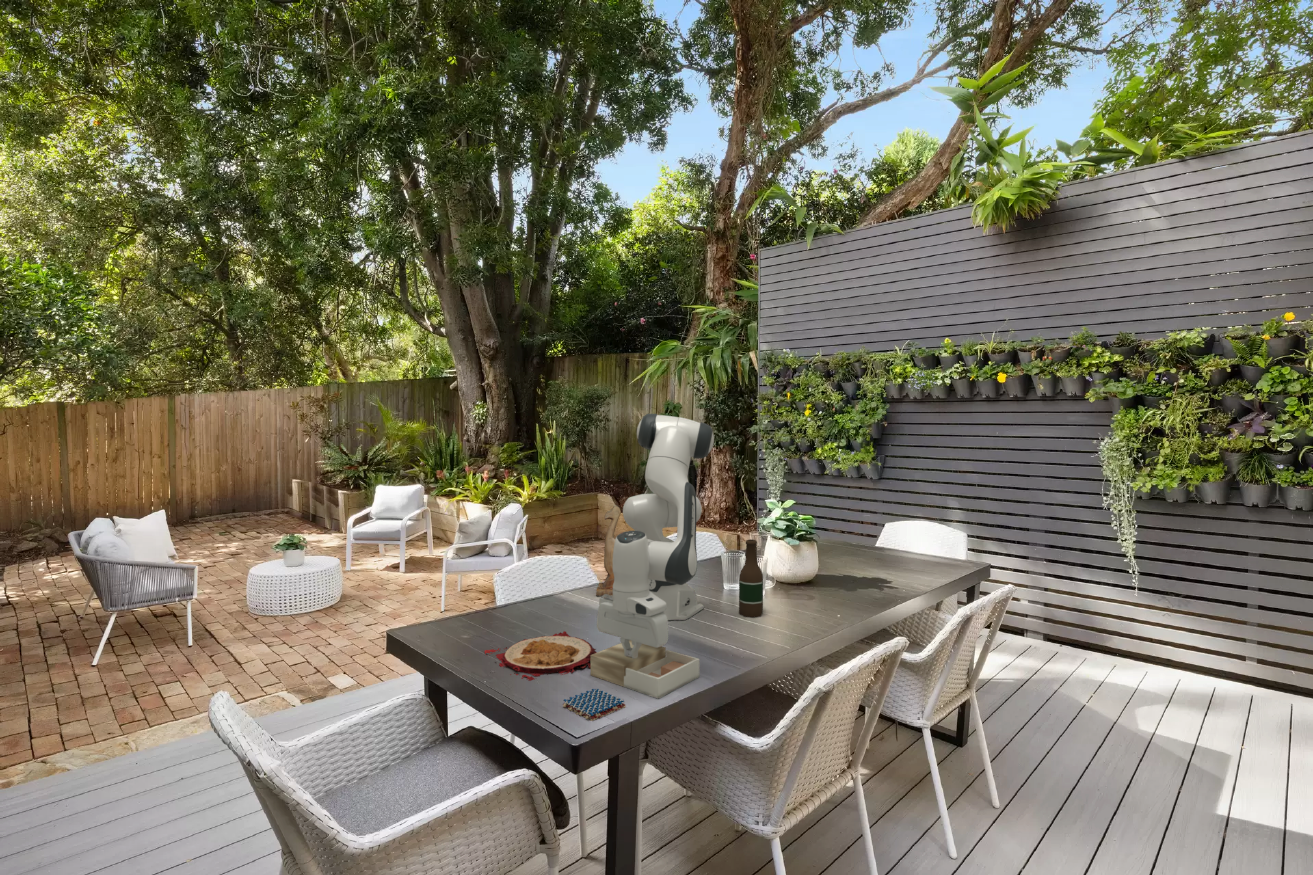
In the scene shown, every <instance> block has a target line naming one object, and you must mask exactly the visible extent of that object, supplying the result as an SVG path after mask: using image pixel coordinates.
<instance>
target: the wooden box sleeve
mask: <svg viewBox="0 0 1313 875" xmlns="http://www.w3.org/2000/svg"><path fill="white" fill-rule="evenodd" d="M629 643H630V646H631V648H633V646H634V645H632V641H631V640H629ZM666 650H667V648H666V646H664V645H663V646H661V647H658V648H656V647H652V646H649V645H645V644H642V645H641V646H640V648H639V650H638V657H637V658H635V659H633V658H630V657H626V656H624V648H623V646H622V644H621V642H620V643H618V644H615V645H613V646H610V647H608V648H606V649H603V650H600V651H596V652H597V653H595V654H592V655H591V661H590V663H591V668H590V676H592V677H594V678H597V679H601V680H602V681H607V682H609V683H612V684H614V685H617V686H620V687H622V688H623V687H624V676H626V668H629V669H632V670H636V671H637V670H639V669H641V668H643V667H645V666H647V665H650V664H652V663H654V662H656V661H658V660H660V659H663V658H665V657H666ZM624 688H625V687H624Z"/></svg>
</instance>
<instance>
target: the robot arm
mask: <svg viewBox="0 0 1313 875" xmlns="http://www.w3.org/2000/svg"><path fill="white" fill-rule="evenodd" d="M714 437H715V436H714V430H713V428H712V427H711V425H709V424H708V423H705V422H702V421H701V422H699V421H696V420H693V419H689V418H685V417H681V416H679V417H678V416H673V415H672V416H671V415H664V414H663V415H662V414H657V413H646V414H644V416H642V419H640V421H639V423H638V425H637V427H636V438H637V442H638V444H639V446H640V447H642V448H644V449H645V450H648V451H649V454H648V459H647V463H646V467H645V472H644V479H645V483H646V485H647V487H648V488H649V489H650V491H651V492H652V493H641V494H637V495H633V496H631V497H628V498H627V499H626V500H625V502H624V504H623V507H622V516H623V519H624V522H625V524H627V525H628V527H630V528H631V529H633V530H628V531H627V530H626V531H623V532H620V533H619V534H617V535H616V536H615V543H614V550H613V573H614V583H613V596H611V595H608V594H604V595H601V596H599V600H598V601H599V602H598V608H597V609H598V610H597V615H596V628H597V630H598V631H599V632H600V633H604V634H607V635H611V636H613V637H614V636H615V637H618V638H620V639H619V640H620V643H621V644H622V646H623V648H624V656H626V657H630V658H633V659H635V658H637V657H638V650H639V648H640V646H641V645H642V644H645V645H649V646H652V647H656V648H658V647H661V646H663V647H664V645H666V644H667V643H668V641H669V624H668V623H669V622H668V621H685V620H688V619H690V618H691V617H693V616H694V615H696V614H697V613H699V612H701V611H702V610H704V608H705V606H704V604H702V603H700V602H697V593H696V590H695V588H692V587H691V586H690V585H689V584H688V582H689V581H690V580H692V579H693V578H694V577H695V576H696V574H697V570H698V555H697V554H698V553H697V522H699V520H700V518H701V515H702V512H703V511H702V510H703V509H702V504H701V501H700V499H699V498H698V497H697V494H696V490H695V487H694V486H693V484H691V482H689V477H688V474H689V468H690V463H691V458H693V459H697V460H698V459H705V458H706V457H708V455H709V454H710V453H711V451H712V450H713V447H714V442H715V438H714ZM665 528H677V529H676V533H677V534H676V539H675V540H672V539H671V538H669V537H667V536H664V533H663V529H665ZM629 640H631V641H632V645H634V646H633V648H631V646H630V643H629Z"/></svg>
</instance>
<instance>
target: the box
mask: <svg viewBox="0 0 1313 875" xmlns="http://www.w3.org/2000/svg"><path fill="white" fill-rule="evenodd" d="M672 661H675V662H678V663H682V664H685V665H683V666H681V667H679V668H677V669H675V670H673V671H671V672H669V673H667V674H665V675H663V676H661V677H659V678H657V677H654V676H651V675H648V674H649V673H651V672H652V673H656V674H659V675H661V667H662V666H664V665H666V664H668V663H670V662H672ZM698 678H700V658H697V657H695V656H690V655H686V654H683V653H680V652H676V651H674V650H669V649H666V657H665V658H663V659H660V660H658V661H656V662H654V663H652V664H650V665H647V666H645V667H643V668H641V669H639V670H637V671H636V670H632V669H629V668H626V676H624V688H626V689H629V690H632V691H635V692H637V693H641V694H643V695H647V696H649V697H652V698H655V699H657V700H658V699H661V698H663V697H664V696H667V695H669V694H671V693H672V692H674V691H676V690H678V689H680V688H681V687H684V686H685V685H687V684H689V683H690V682H693V681H695V680H697V679H698Z"/></svg>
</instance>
